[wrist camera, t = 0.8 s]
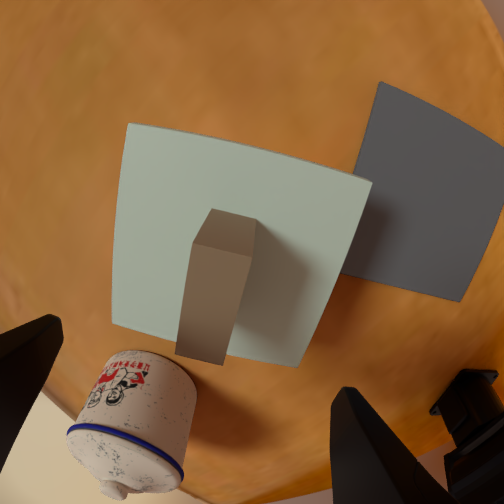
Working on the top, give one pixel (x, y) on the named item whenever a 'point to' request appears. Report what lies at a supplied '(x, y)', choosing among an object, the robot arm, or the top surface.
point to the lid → (228, 244)
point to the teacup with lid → (135, 425)
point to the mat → (424, 197)
